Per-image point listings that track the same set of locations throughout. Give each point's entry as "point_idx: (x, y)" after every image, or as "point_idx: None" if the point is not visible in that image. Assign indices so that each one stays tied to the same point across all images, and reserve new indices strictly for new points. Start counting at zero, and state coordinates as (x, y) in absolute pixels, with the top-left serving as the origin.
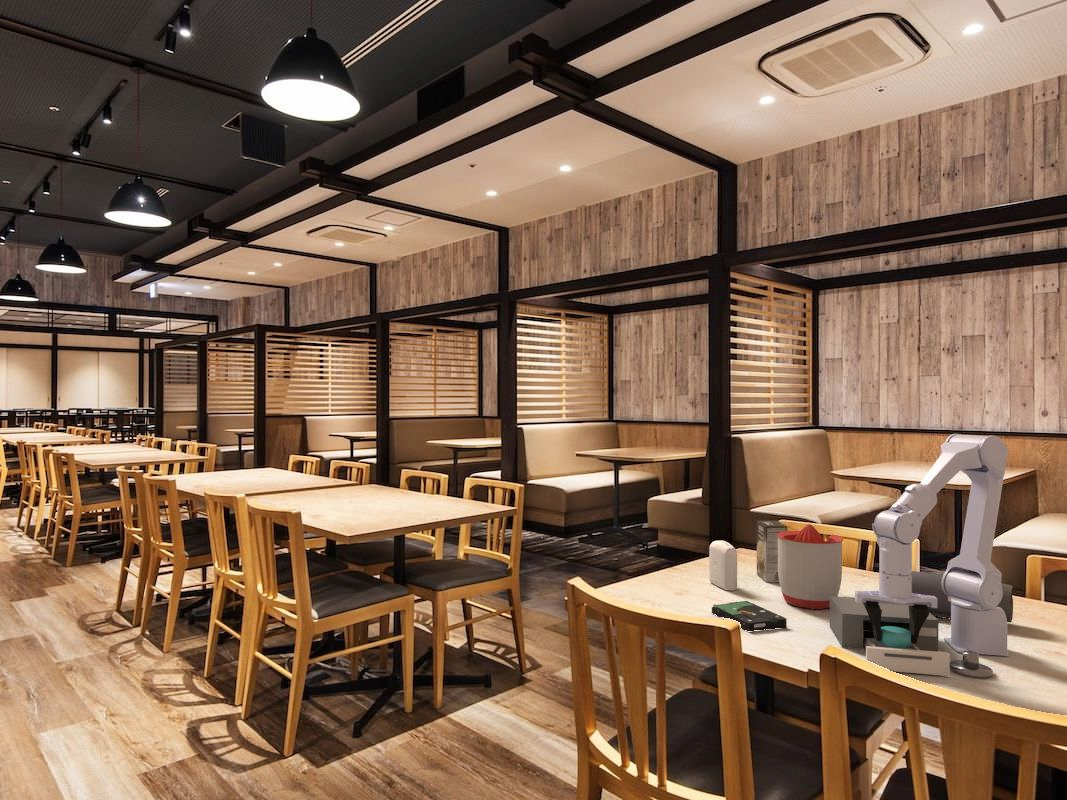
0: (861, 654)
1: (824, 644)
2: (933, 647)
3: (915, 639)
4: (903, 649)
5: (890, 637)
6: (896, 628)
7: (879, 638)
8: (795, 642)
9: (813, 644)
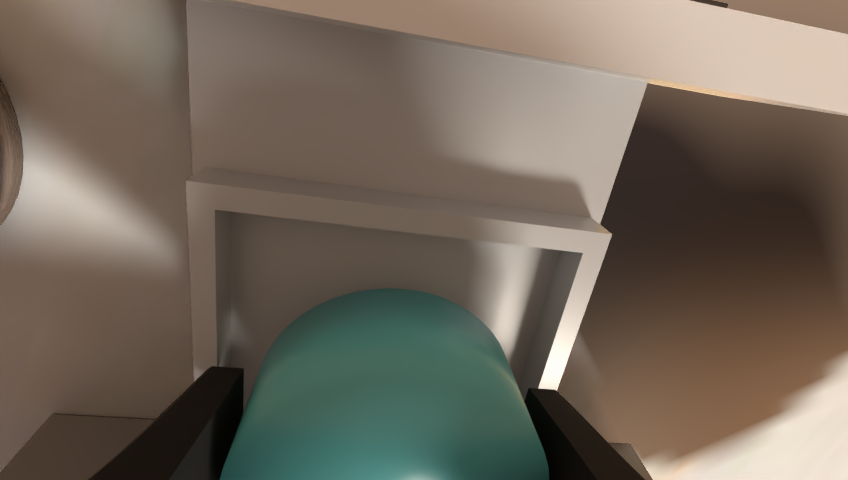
0: (575, 360)
1: (698, 470)
2: (53, 458)
3: (203, 390)
4: (507, 22)
5: (493, 373)
6: None
7: (551, 404)
8: (834, 473)
9: (759, 462)
